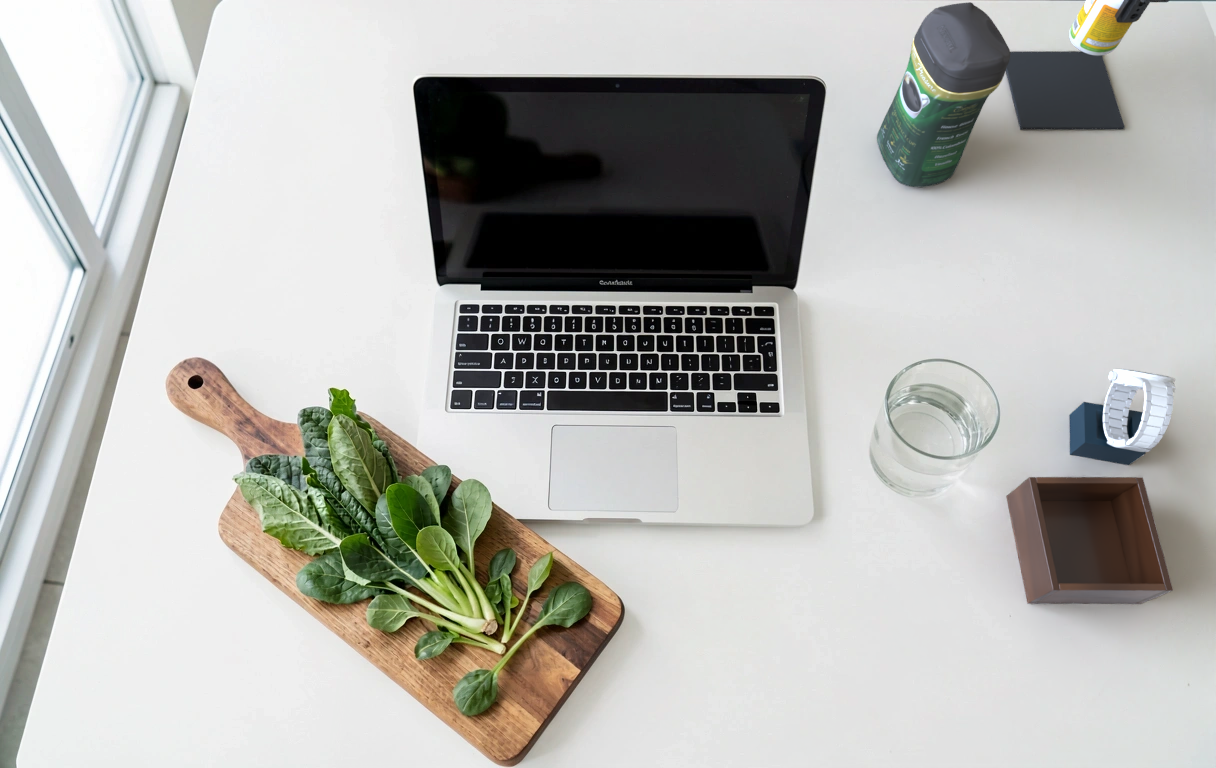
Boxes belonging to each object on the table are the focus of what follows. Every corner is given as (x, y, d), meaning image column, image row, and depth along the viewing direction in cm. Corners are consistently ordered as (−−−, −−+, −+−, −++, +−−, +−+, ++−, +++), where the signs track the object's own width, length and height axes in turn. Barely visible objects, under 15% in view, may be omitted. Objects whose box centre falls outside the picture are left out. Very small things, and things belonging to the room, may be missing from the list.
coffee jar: (962, 182, 102) (1031, 57, 85) (897, 196, 101) (952, 73, 85) (929, 119, 106) (988, -13, 90) (866, 131, 105) (913, 1, 89)
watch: (1126, 407, 90) (1189, 356, 80) (1129, 482, 86) (1195, 438, 76) (1068, 397, 90) (1123, 344, 80) (1069, 471, 87) (1127, 426, 77)
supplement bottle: (1127, 47, 100) (1176, -27, 92) (1089, 63, 99) (1134, -10, 90) (1095, 15, 102) (1140, -60, 94) (1057, 31, 101) (1099, -43, 93)
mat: (1099, 53, 111) (1100, 51, 110) (1123, 129, 105) (1125, 127, 105) (1001, 53, 111) (1002, 51, 110) (1020, 129, 105) (1021, 127, 105)
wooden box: (1113, 496, 86) (1142, 477, 81) (1140, 604, 81) (1173, 590, 77) (1006, 496, 86) (1029, 476, 81) (1027, 603, 81) (1053, 590, 77)
